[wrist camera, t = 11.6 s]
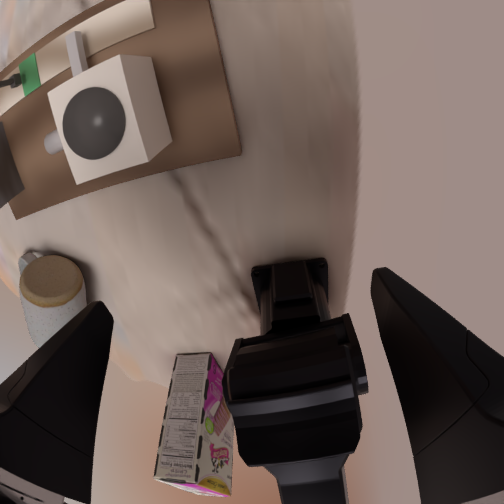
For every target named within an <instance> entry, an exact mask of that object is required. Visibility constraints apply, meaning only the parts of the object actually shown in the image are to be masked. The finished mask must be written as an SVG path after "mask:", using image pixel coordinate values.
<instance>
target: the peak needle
mask: <svg viewBox="0 0 504 504" xmlns="http://www.w3.org/2000/svg"><path fill="white" fill-rule="evenodd" d="M21 84H22V81H21V76H20V73H17V74H13V75H12V76H11V77H9V79H7V80H3V81H0V88H1V87H5V86H9V85H10V87H11V89H12V88H16V87H18V86H19V85H21Z"/></svg>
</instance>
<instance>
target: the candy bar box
mask: <svg viewBox="0 0 504 504" xmlns="http://www.w3.org/2000/svg"><path fill="white" fill-rule="evenodd" d="M223 375H224V374H223V372H222V371H221V369H220V367H219V366H218V364H217V363H216V361H215V359H214V357H213V356H212V354H211V353H196V354H180V355H176V359H175V364H174V368H173V373H172V378H171V383H170V387H169V392H168V398H167V402H166V407H165V413H164V418H163V423H162V429H161V434H160V440H159V447H158V452H157V459H156V465H155V472H154V477H153V479H155V480H157V481H160V482H162V483H165V484H168V485H170V486H173V487H176V488H179V489H182V490H185V491H188V492H191V493H194V494H199V495H208V496H220V497H227V496H231V485H232V461H233V436H234V421H233V417H232V415H231V413H230V411H229V409H228V408H227V405H226V403H225V399H224V396H223V394H222V389H223V387H222V383H221V381H222V378H223Z"/></svg>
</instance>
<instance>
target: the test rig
mask: <svg viewBox="0 0 504 504" xmlns="http://www.w3.org/2000/svg"><path fill="white" fill-rule="evenodd" d="M73 31H81V36H82V41H83V46H84V51H85V56H86V61H87V65H88V69H90V68H92V67H94V66H96V65H98V64H100V63H102V62H104V61H106V60H108V59H110V58H112V57H115V56H117V55H119V54H123V55H136V56H146V57H151V59H152V63H153V67H154V71H155V75H156V80H157V84H158V88H159V92H160V96H161V100H162V104H163V107H164V111H165V115H166V119H167V123H168V126H169V130H170V134H171V137H172V142H171V143H170V144H169V145H167V146H166V147H165V148H164V149H163V150H162V151H160V152H159V153H158V154H157V155H156V156H155V157H154V158H152V159H151V160H150V161H149V162H146V163H143V164H139V165H136V166H132V167H129V168H126V169H122V170H119V171H116V172H113V173H110V174H107V175H104V176H101V177H98V178H95V179H92V180H89V181H86V182H83V183H81V184H78V185H77V184H76V182H75V179H74V176H73V174H72V171H71V168H70V166H69V163H68V160H67V157H66V154H65V152H64V150H62V151H60V152H58V153H56V154H54V155H52V154H49V153H48V152H47V150H46V149H45V145H44V139H45V137H46V135H47V134H49V133H50V132H52V131H54V130H56V129H57V127H56V123H55V120H54V116H53V113H52V109H51V105H50V102H49V98H48V94H47V93H48V92H49V91H51V90H53V89H54V88H56V87H57V86H59V85H61V84H62V83H64V82H66V81H68V80H69V79H71V78H73V74H72V70H71V65H70V60H69V56H68V50H67V45H66V39H65V36H67V35H68V34H70V33H72V32H73ZM17 73H20V76H21V81H22V84H21V85H19V86H18V87H16V88H12V89H11V87H10V85H9V86H5V87H1V88H0V208H1V207H2V206H4V205H5V204H6V203H7V202H8V203H9V205H10V207H11V210H12V212H13V214H14V216H15V218H16V220H18V219H20V218H23V217H25V216H27V215H30V214H32V213H35V212H37V211H40V210H43V209H45V208H48V207H50V206H53V205H56V204H59V203H61V202H64V201H67V200H70V199H73V198H75V197H78V196H81V195H84V194H87V193H90V192H94V191H97V190H100V189H103V188H106V187H110V186H113V185H116V184H120V183H123V182H127V181H130V180H134V179H137V178H141V177H145V176H149V175H152V174H156V173H160V172H164V171H168V170H173V169H177V168H181V167H185V166H190V165H194V164H199V163H204V162H209V161H214V160H219V159H224V158H229V157H235V156H240V155H241V154H242V149H241V144H240V139H239V135H238V130H237V125H236V120H235V116H234V111H233V106H232V101H231V97H230V92H229V87H228V83H227V78H226V73H225V69H224V64H223V60H222V55H221V50H220V46H219V41H218V37H217V32H216V28H215V23H214V19H213V14H212V10H211V5H210V1H209V0H104V1H102V2H100V3H98V4H96V5H95V6H93V7H91V8H89V9H87V10H85V11H84V12H82V13H80V14H78V15H77V16H75V17H73V18H72V19H70V20H69V21H67V22H65V23H64V24H62V25H61V26H59V27H58V28H56V29H55V30H53V31H52V32H50V33H49V34H47V35H46V36H45V37H43V38H42V39H40V40H39V41H38V42H36V43H35V44H34V45H32V46H31V47H30V48H29V49H27V50H26V51H25V52H24V53H22V54H21V55H20V56H19V57H17V58H16V59H15V60H14V61H13V62H12V63H10V64H9V65H8V66H7V67H6V68H5V69H4V70H3V71H2V72H0V81H3V80H7V79H9V77H11V76H12V75H13V74H17Z"/></svg>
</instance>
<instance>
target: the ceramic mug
mask: <svg viewBox="0 0 504 504" xmlns="http://www.w3.org/2000/svg"><path fill="white" fill-rule="evenodd" d="M18 264H19V271H20V275H21V277H20V284H19V292H20V299H21V303H22V306H23V310H24V314H25V319H26V322H27V326H28V330H29V334H30V336H31V338H32V340H33V342H34V343H35V344H36V346H37V347H38V348H40V347H41V346H42V345H43V344H44V343H45V342H46V341H48V340H49V339H50V338H51V337H52V336H53V335H54V334H55V333H56V332H57V331H59V330H60V329H61V328H62V327H63V326H64V325H65V324H66V323H68V322H69V321H70V320H71V319H72V318H73V317H74V316H75V315H77V314H78V313H79V312H80V311H81V310H82V309H84V308H85V307H86V306H87V302H86V289H85V283H84V279H83V276H82V273H81V271H80V269H79V268H78V266H77V265H76V264H75V263H74V262H72V261H71V260H69V259H67V258H64V257H62V256H57V255H48V256H43V257H39V258H37V257H36V256H35V255H34V254H32V253H27V254H24V255H23V256H21V257H20V258H19V262H18Z"/></svg>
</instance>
